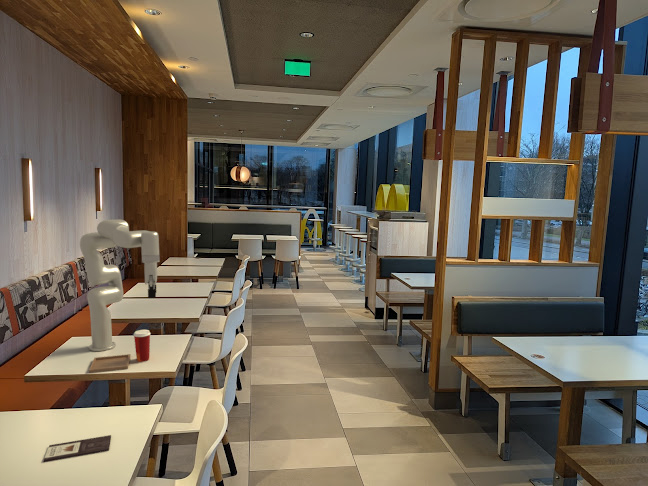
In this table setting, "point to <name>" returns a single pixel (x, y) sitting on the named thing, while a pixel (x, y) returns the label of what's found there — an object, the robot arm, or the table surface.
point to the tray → (110, 363)
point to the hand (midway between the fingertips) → (152, 295)
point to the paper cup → (142, 345)
